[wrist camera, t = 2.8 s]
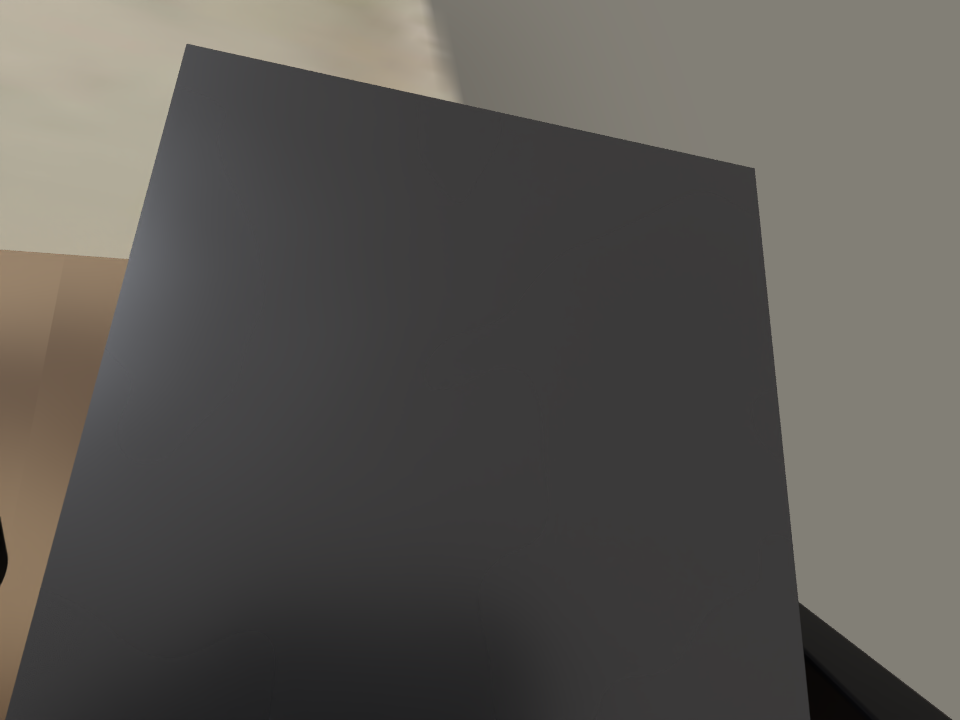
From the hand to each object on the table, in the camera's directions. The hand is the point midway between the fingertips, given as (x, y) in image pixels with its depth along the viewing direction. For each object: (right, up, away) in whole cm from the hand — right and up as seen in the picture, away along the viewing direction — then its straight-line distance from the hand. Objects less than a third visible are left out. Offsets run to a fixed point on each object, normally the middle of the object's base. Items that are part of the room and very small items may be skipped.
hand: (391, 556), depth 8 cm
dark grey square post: (-2, -2, +9) cm, 9 cm away
